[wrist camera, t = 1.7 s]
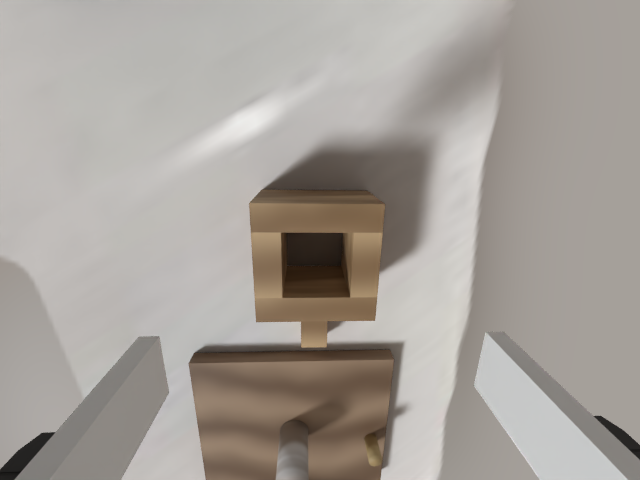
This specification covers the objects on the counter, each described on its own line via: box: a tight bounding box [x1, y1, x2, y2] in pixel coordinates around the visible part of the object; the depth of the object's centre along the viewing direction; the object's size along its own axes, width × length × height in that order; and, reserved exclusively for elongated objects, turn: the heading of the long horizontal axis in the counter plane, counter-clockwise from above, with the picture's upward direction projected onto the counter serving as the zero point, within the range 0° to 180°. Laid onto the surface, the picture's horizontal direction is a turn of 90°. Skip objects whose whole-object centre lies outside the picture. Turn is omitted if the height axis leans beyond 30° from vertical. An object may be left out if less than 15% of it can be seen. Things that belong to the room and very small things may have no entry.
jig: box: [189, 350, 394, 480], centre depth 30 cm, size 18×20×6 cm
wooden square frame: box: [249, 190, 385, 348], centre depth 25 cm, size 14×9×6 cm, turn 179°
